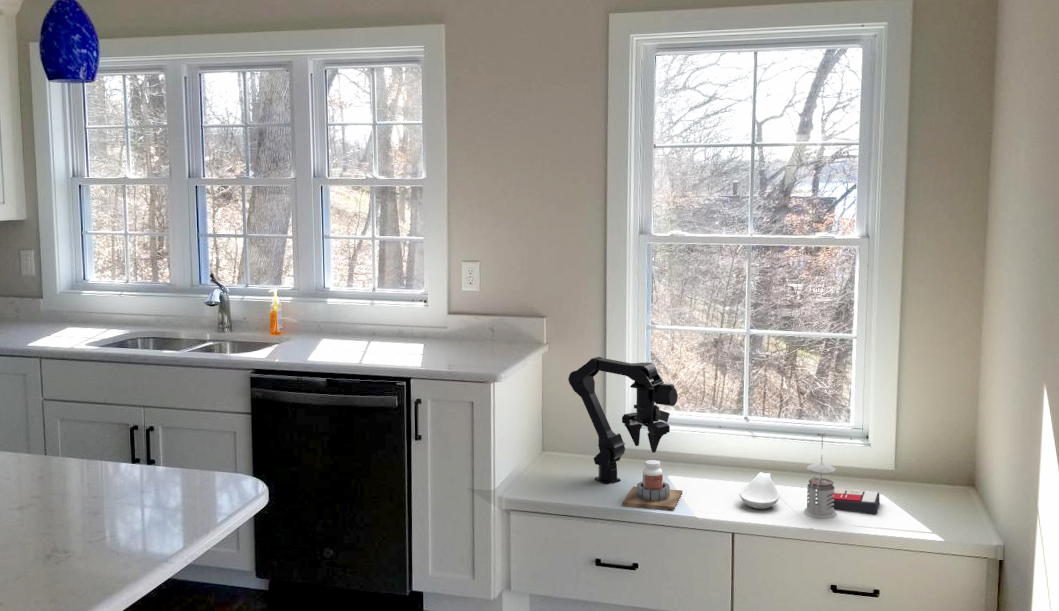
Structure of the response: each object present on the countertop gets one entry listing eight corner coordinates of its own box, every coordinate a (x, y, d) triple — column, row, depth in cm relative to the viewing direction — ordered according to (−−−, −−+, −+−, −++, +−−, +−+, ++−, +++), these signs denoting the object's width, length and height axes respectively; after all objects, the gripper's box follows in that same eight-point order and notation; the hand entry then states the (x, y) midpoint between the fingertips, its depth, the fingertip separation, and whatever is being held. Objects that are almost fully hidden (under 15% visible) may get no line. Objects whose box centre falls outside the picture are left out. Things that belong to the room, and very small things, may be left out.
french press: (841, 510, 295) (843, 430, 291) (830, 522, 285) (832, 439, 282) (808, 505, 300) (810, 426, 297) (797, 516, 290) (799, 434, 287)
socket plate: (622, 505, 302) (622, 502, 301) (633, 489, 317) (633, 486, 317) (674, 510, 297) (674, 506, 297) (682, 494, 312) (682, 490, 312)
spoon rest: (776, 514, 293) (777, 491, 292) (737, 510, 297) (737, 488, 296) (784, 490, 315) (784, 469, 314) (746, 487, 319) (747, 465, 318)
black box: (828, 486, 307) (879, 490, 301) (829, 500, 307) (879, 503, 301) (824, 497, 297) (876, 501, 291) (824, 511, 297) (876, 515, 291)
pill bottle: (666, 497, 305) (666, 463, 304) (649, 500, 303) (649, 465, 301) (656, 491, 311) (656, 458, 309) (639, 494, 308) (639, 460, 307)
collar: (630, 494, 308) (630, 483, 308) (656, 489, 313) (656, 478, 313) (649, 503, 300) (649, 492, 299) (675, 497, 305) (675, 487, 304)
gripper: (683, 404, 311) (683, 452, 313) (648, 393, 327) (648, 439, 329) (655, 409, 305) (654, 457, 307) (621, 397, 322) (621, 443, 324)
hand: (645, 449), depth 317 cm, fingers open, 9 cm apart
